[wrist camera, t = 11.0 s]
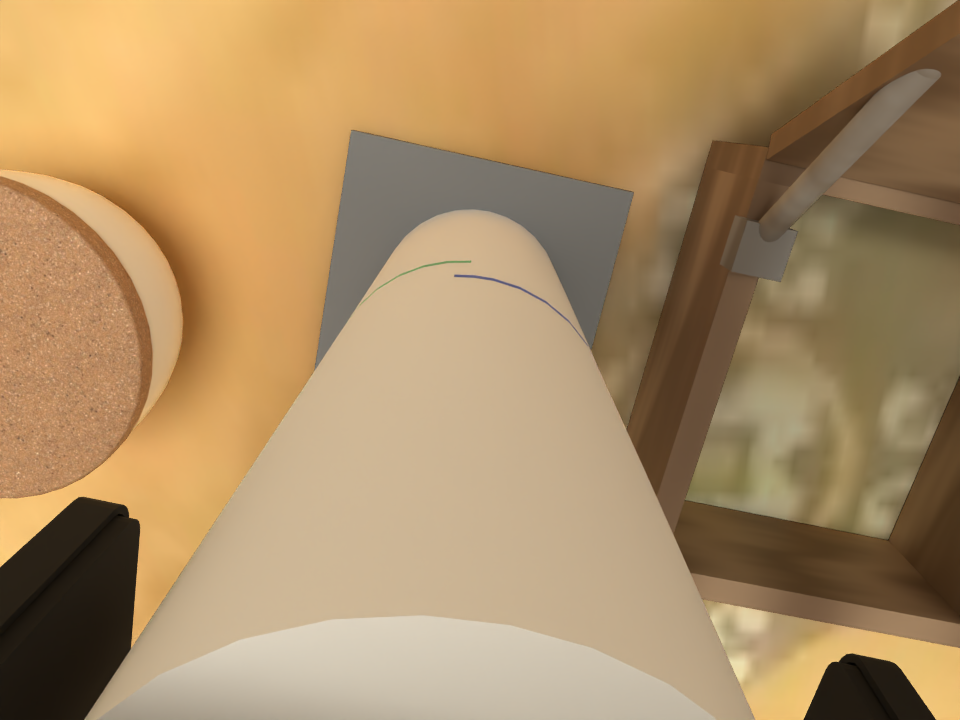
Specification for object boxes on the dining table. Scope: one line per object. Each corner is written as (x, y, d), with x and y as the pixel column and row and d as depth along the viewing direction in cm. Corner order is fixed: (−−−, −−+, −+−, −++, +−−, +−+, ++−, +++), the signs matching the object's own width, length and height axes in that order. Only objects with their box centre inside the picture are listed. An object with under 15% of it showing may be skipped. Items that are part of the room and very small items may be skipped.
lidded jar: (-97, 219, 30) (-342, 264, 21) (138, 111, 29) (-18, 110, 20) (49, 448, 33) (-112, 571, 24) (267, 360, 32) (183, 456, 23)
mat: (631, 191, 30) (633, 192, 29) (563, 444, 33) (564, 448, 33) (353, 130, 29) (351, 130, 29) (312, 394, 32) (310, 397, 32)
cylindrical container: (534, 398, 32) (681, 1241, 8) (367, 362, 31) (-2, 1143, 8) (579, 231, 30) (957, 712, 6) (399, 191, 29) (26, 530, 5)
